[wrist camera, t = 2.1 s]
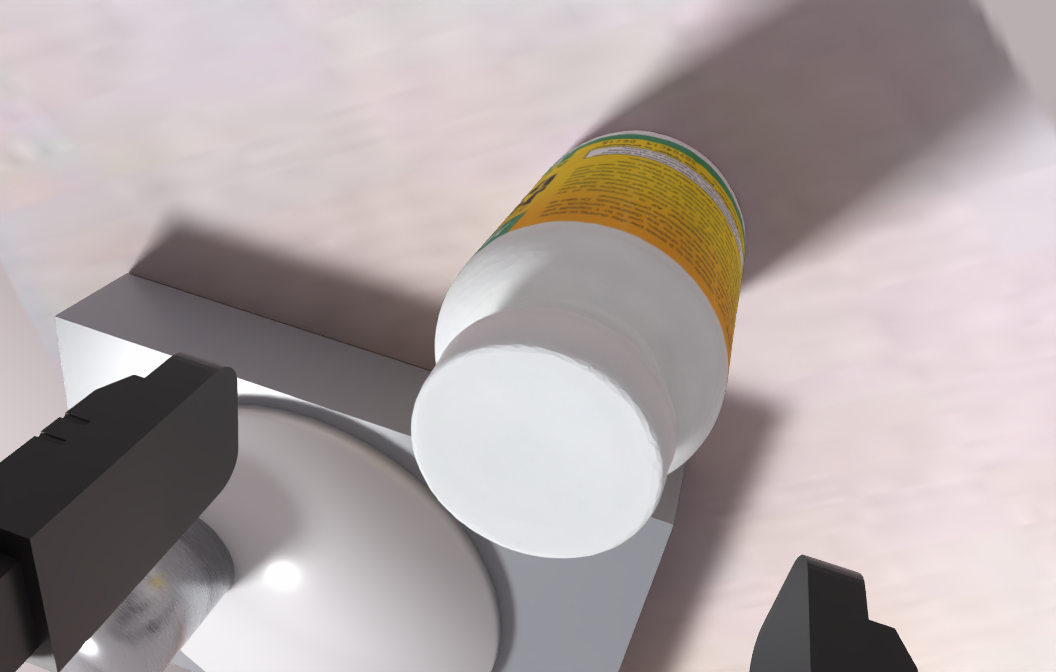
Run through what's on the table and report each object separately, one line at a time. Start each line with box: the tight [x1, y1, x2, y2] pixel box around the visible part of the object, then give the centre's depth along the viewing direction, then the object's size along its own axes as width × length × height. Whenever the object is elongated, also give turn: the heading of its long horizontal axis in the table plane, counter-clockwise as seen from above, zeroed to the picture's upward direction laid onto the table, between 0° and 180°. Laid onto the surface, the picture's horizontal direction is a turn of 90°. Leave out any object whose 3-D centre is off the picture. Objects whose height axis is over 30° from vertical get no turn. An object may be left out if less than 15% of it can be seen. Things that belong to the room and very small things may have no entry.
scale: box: [54, 273, 686, 672], centre depth 27 cm, size 18×14×4 cm
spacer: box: [60, 517, 234, 672], centre depth 24 cm, size 4×4×4 cm
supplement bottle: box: [411, 130, 746, 558], centre depth 16 cm, size 5×5×10 cm
